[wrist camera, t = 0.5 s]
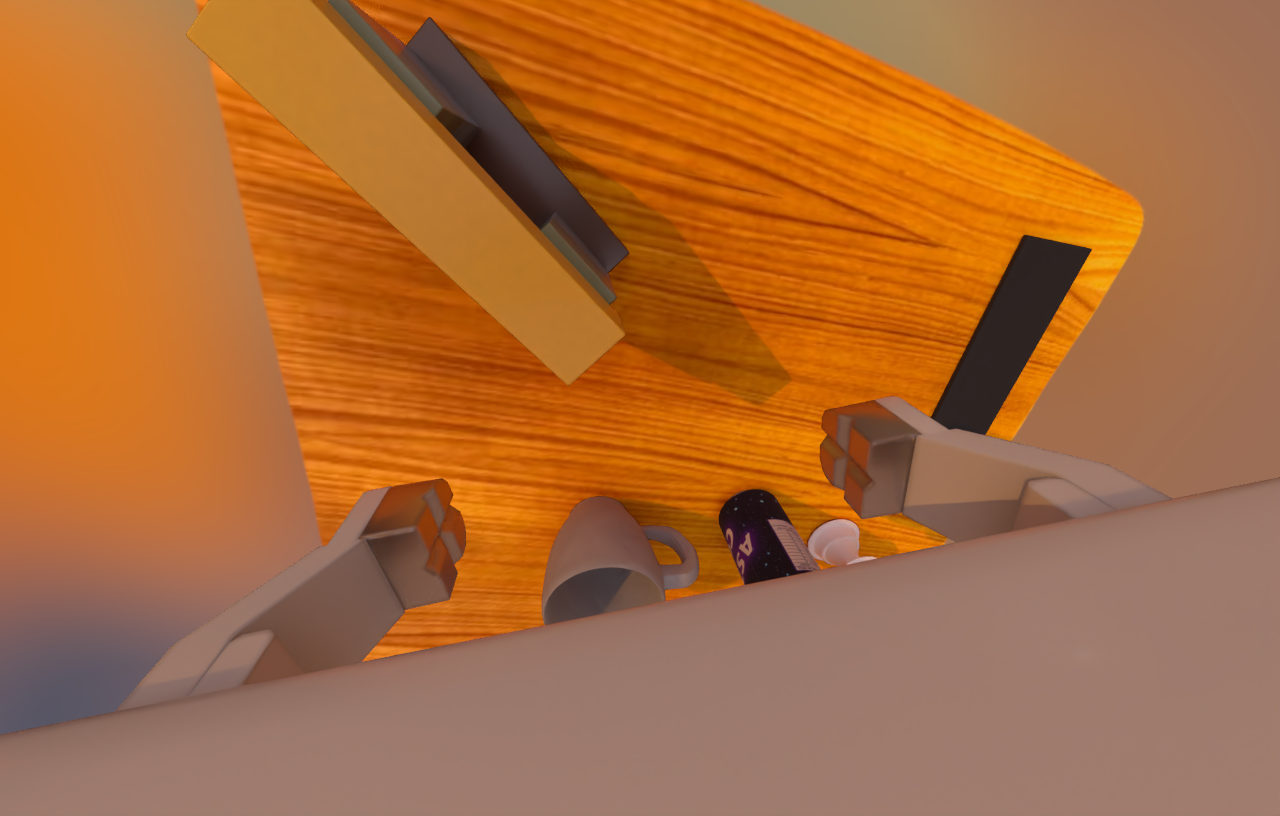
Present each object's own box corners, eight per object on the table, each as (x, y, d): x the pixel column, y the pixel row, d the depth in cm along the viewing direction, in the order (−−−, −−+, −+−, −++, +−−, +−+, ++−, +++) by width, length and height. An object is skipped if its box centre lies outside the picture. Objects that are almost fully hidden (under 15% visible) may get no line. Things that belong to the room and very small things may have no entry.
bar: (306, -23, 15) (249, -66, 13) (620, 316, 22) (626, 334, 19) (248, 59, 16) (183, 34, 13) (569, 363, 23) (568, 387, 20)
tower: (439, 27, 24) (360, -63, 15) (626, 248, 30) (648, 276, 21) (347, 140, 26) (227, 119, 17) (542, 328, 32) (530, 384, 23)
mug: (554, 562, 42) (549, 660, 33) (541, 485, 38) (532, 574, 29) (681, 547, 43) (708, 637, 34) (682, 470, 39) (712, 551, 30)
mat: (1023, 235, 33) (1028, 235, 33) (1087, 248, 34) (1092, 249, 34) (917, 443, 41) (920, 445, 41) (973, 448, 42) (976, 450, 42)
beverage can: (719, 484, 40) (771, 594, 30) (780, 481, 41) (852, 587, 30) (712, 533, 43) (758, 650, 32) (769, 530, 43) (832, 643, 33)
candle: (796, 547, 45) (864, 660, 34) (834, 510, 43) (918, 617, 33) (831, 566, 47) (906, 678, 36) (868, 531, 45) (958, 639, 35)
